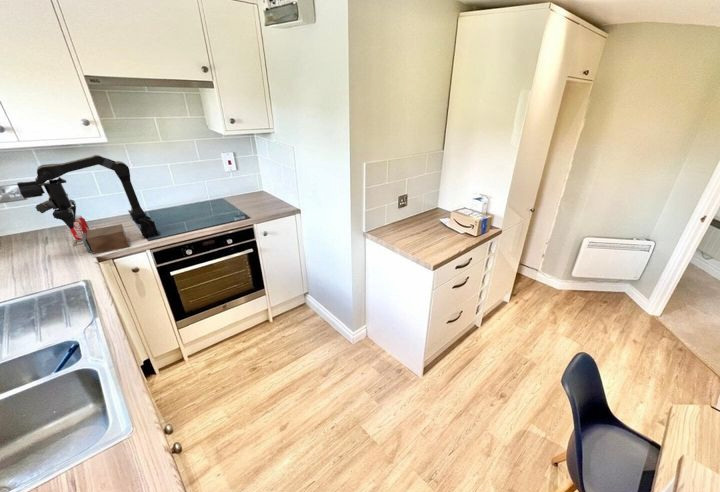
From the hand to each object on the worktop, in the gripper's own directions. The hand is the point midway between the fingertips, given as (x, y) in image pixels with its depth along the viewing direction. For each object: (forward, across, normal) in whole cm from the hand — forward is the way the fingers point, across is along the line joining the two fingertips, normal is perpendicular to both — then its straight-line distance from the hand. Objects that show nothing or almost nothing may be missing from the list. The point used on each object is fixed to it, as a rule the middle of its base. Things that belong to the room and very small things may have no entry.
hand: (73, 225), depth 152 cm
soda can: (+14, -18, -1) cm, 22 cm away
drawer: (+13, +2, +6) cm, 14 cm away
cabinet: (+14, +2, +10) cm, 17 cm away
